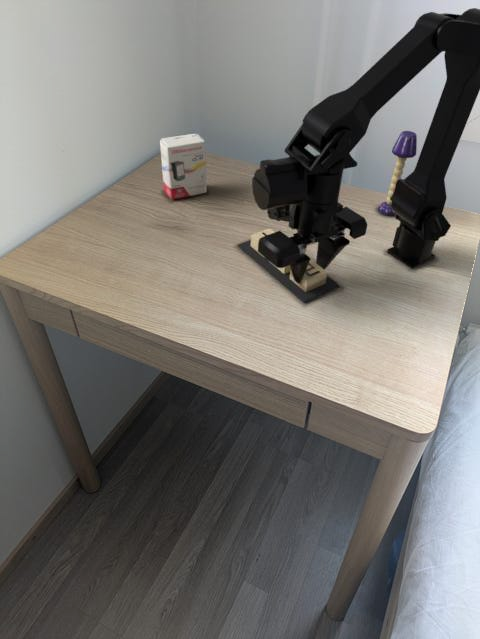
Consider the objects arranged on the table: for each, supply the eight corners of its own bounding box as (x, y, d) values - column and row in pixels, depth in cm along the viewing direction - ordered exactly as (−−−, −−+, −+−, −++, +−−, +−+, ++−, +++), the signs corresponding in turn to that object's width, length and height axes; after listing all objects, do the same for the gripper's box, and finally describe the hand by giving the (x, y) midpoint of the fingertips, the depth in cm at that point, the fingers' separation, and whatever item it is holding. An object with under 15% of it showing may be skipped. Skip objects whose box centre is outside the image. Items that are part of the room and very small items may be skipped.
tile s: (325, 283, 85) (327, 271, 84) (305, 292, 84) (307, 280, 82) (309, 270, 88) (310, 258, 86) (289, 278, 86) (290, 266, 85)
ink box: (170, 201, 106) (166, 148, 98) (163, 191, 110) (158, 138, 102) (208, 193, 109) (206, 141, 101) (199, 183, 113) (197, 132, 105)
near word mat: (339, 287, 85) (342, 273, 83) (304, 303, 82) (306, 289, 80) (271, 234, 98) (272, 220, 96) (237, 246, 94) (237, 232, 92)
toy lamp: (379, 203, 108) (397, 127, 96) (401, 207, 106) (422, 130, 95) (376, 213, 104) (394, 136, 93) (398, 218, 103) (420, 139, 92)
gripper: (330, 161, 84) (318, 239, 94) (239, 189, 76) (237, 271, 86) (378, 188, 77) (359, 269, 87) (283, 221, 69) (275, 306, 80)
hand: (308, 277), depth 85 cm, fingers closed on tile s, 4 cm apart
